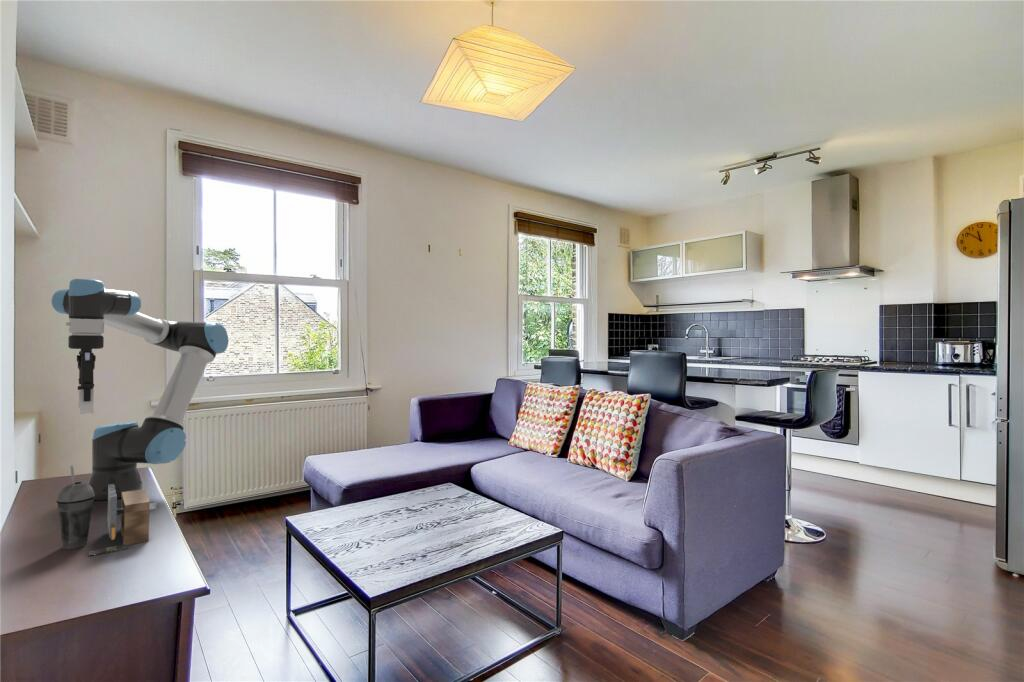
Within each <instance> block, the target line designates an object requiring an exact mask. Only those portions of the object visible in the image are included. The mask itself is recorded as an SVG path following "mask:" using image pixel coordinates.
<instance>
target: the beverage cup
mask: <svg viewBox="0 0 1024 682" xmlns="http://www.w3.org/2000/svg"><path fill="white" fill-rule="evenodd" d="M69 467H70V476H71V483H69V484H67V485H66V486H64V487H63V488H62V489H61V490H60V491H59V493H58V496H57V499H56V504H57V509H58V511H59V512H58V513H59V523H60V536H61V542H62V543H61V544H62V549H63V550H76V549H78V547H79V548H82V547H84V546H86V545H88V538H89V533H90V532H89V531H90V525H91V524H90V523H91V518H92V510H93V505H94V502H95V500H94V498H95V495H94V490H93V488H92V487H91V486H90V485H89V484H88V482H87V483H86V482H84V481H75V472H74V465H70V466H69ZM81 546H82V547H81Z"/></svg>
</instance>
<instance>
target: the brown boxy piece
mask: <svg viewBox="0 0 1024 682" xmlns="http://www.w3.org/2000/svg"><path fill="white" fill-rule="evenodd" d="M120 501H121V502H120V503H121V504H120V508H123V514H120V534H121V537H122V544H121V545H114V546H110V547H109V546H108V547H106V548H101V549H96V550H95V549H94V550H91V551H88V557H91V556H90V555H94V554H99V555H101V554H100V553H104V554H107V553H106V552H109V553H112V552H111V551H114V552H119V551H118V550H120V551H124V550H123V549H125V550H128V546H130V545H134V544H135V543H136V544H140V542H141V543H144V541H146V542H149V539H150V534H149V533H150V510H149V509H150V499H149V497H148V495H147V492H146V490H145V488H142V489H141V490H134V491H126V492H122V495H121V498H120ZM94 556H95V555H94Z"/></svg>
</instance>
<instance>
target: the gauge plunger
mask: <svg viewBox="0 0 1024 682" xmlns="http://www.w3.org/2000/svg"><path fill="white" fill-rule="evenodd" d="M157 508H158V503H157V502H152V503H150V509H149V511H151V510H156V509H157ZM121 514H123V508H121V507H119V508H118V498H117V494H116V490H115V485H114V484H109V485H108V499H107V519H106V520H107V523H106V524H107V529H108V535H109V537H108V538H109V539H111V540H112V541H113V540H115V539H116V537H117V516H121Z"/></svg>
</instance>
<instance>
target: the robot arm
mask: <svg viewBox="0 0 1024 682" xmlns="http://www.w3.org/2000/svg"><path fill="white" fill-rule="evenodd" d="M51 305H52V308H53V309H54V310H55V311H56V312H57V313H60V314H65V315H68V321H67V322H65V326H68V333H70V334H71V335H68V340H67V341H68V345H67V346H68V348H69V349H72V350H73V349H74V350H79V352H78V354H77V355H76V362H77V369H78V372H79V373H78V379H77V380H78V386H77V390H78V408H80V409H79V414H80V415H85V414H94V388H95V384H94V370H95V368H96V366H95V365H96V355H95V354H94V352H93V350H98V349H103V348H104V336H103V335H102V334H104V332H105V325H106V326H109V327H111V328H114V329H116V330H119V331H123V332H126V333H128V334H130V335H131V334H132V335H135V336H138V337H140V338H143V339H144V340H145V341H146V342H147V343H149V344H151V345H154V346H157V347H160V348H162V349H167V350H169V351H172V352H178V353H180V355H181V356H180V357H179V360H178V361H177V363H176V365H175V368H174V370H173V372H172V374H171V376H170V378H169V380H168V382H167V384H166V385H165V386H166V387H165V389H164V391H163V392H162V395H161V397H160V398H159V401H158V404H157V405H156V407H155V409H154V410H153V411H154V412H153V414H152V415H149V416H147V417H145V419H144V420H143V423H141V424H142V425H141V426H139V423H138V421H126V422H119V423H112V424H106V425H105V424H104V425H102V426H97V427H96V428H94V430H93V436H92V444H91V445H92V447H91V448H92V451H91V452H92V454H91V455H92V458H91V461H92V462H91V474H90V477H89V479H88V481H87V484H89V485H90V486H91V487H92V488H93V490H94V495H95V498H94V501H101V500H102V501H104V500H105V501H106V500H108V485H109V484H114V485H115V490H116V494H117V499H121V498H120V497H121V495H122V492H126V491H134V490H141V489H144V488H143V487H144V486H143V481H142V479H141V476H140V472H139V469H138V466H137V465H138V464H150V465H159V464H161V465H162V464H164V465H165V464H169V463H172V462H173V461H176V460H177V459H178V458H179V457H180V455H182V453H183V451H184V449H185V447H186V444H187V440H186V439H187V435H186V433H185V431H184V429H185V427H184V425H183V423H182V421H183V419H184V417H185V414H186V412H187V409H188V408H189V405H190V404H191V401H192V399H193V397H194V394H195V392H196V390H197V388H198V385H199V383H200V380H201V378H202V376H203V373H204V371H205V369H206V367H207V365H208V364H209V363H213V361H215V358H216V355H217V354H219V355H220V354H222V353H225V351H226V350H227V348H228V346H229V335H228V331H227V330H226V328H225V326H224V325H223V324H221V323H219V322H214V321H184V320H183V321H181V320H180V321H179V320H178V321H177V320H167V319H163V318H161V317H156V318H154V317H152V316H149V315H147V314H144V313H141V312H139V311H140V310H141V308H142V299H141V297H140V296H139V294H138V293H136V292H135V291H130V290H126V289H124V290H123V289H112V288H106V287H105V283H104V281H102V280H98V279H91V278H90V279H89V278H88V279H87V278H73V279H71V280H69V285H68V288H67V289H66V288H64V289H59V290H56V291H55V292H54V293H53V295H52V297H51Z"/></svg>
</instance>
